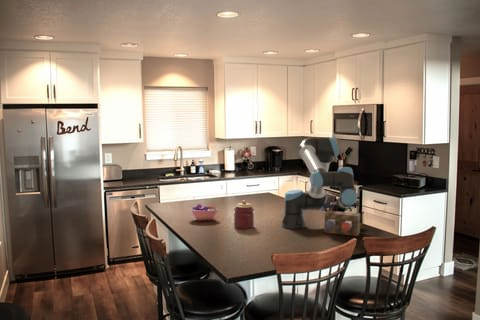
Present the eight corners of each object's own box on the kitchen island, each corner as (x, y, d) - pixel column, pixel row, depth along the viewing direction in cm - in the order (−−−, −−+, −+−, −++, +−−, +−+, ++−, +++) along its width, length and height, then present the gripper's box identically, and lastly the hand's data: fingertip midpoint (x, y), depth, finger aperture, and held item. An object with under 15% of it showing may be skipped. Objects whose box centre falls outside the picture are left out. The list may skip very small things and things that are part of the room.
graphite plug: (324, 229, 259) (324, 220, 258) (329, 224, 270) (329, 216, 270) (333, 230, 256) (333, 221, 256) (338, 225, 268) (338, 217, 267)
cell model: (215, 223, 291) (215, 207, 290) (186, 222, 295) (186, 205, 294) (221, 218, 307) (221, 202, 306) (194, 217, 311) (194, 201, 310)
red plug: (341, 231, 254) (341, 222, 254) (345, 226, 266) (346, 217, 265) (350, 232, 252) (350, 223, 252) (354, 227, 263) (354, 218, 263)
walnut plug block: (324, 232, 269) (324, 213, 268) (327, 229, 276) (328, 210, 275) (357, 235, 260) (357, 216, 259) (359, 232, 267) (360, 213, 266)
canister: (236, 230, 273) (236, 202, 272) (231, 225, 286) (231, 199, 284) (256, 229, 277) (256, 201, 275) (250, 224, 289) (250, 198, 288)
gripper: (322, 209, 230) (318, 214, 251) (369, 207, 229) (362, 212, 249) (320, 195, 232) (316, 201, 253) (368, 193, 231) (360, 199, 251)
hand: (339, 207), depth 251 cm, fingers open, 13 cm apart
